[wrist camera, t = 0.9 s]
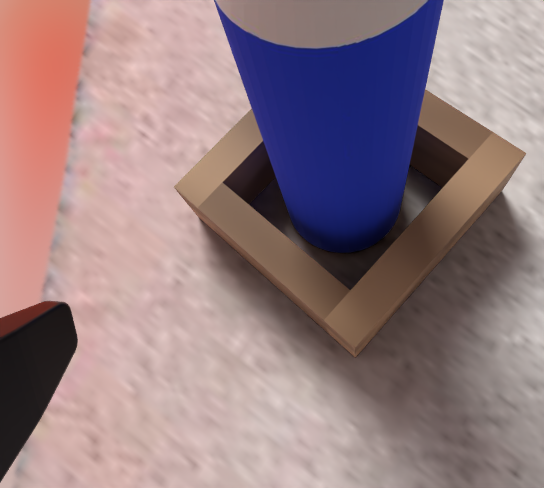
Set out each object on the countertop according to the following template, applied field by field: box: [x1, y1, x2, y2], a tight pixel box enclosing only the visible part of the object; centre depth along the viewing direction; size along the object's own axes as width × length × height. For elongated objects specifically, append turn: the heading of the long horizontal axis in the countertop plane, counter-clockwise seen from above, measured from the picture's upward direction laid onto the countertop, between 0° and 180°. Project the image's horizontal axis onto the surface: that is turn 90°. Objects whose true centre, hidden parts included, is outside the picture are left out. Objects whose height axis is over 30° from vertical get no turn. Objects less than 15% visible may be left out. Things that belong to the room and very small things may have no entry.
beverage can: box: [214, 0, 444, 253], centre depth 17 cm, size 5×5×15 cm
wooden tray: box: [174, 90, 526, 358], centre depth 22 cm, size 10×10×4 cm
